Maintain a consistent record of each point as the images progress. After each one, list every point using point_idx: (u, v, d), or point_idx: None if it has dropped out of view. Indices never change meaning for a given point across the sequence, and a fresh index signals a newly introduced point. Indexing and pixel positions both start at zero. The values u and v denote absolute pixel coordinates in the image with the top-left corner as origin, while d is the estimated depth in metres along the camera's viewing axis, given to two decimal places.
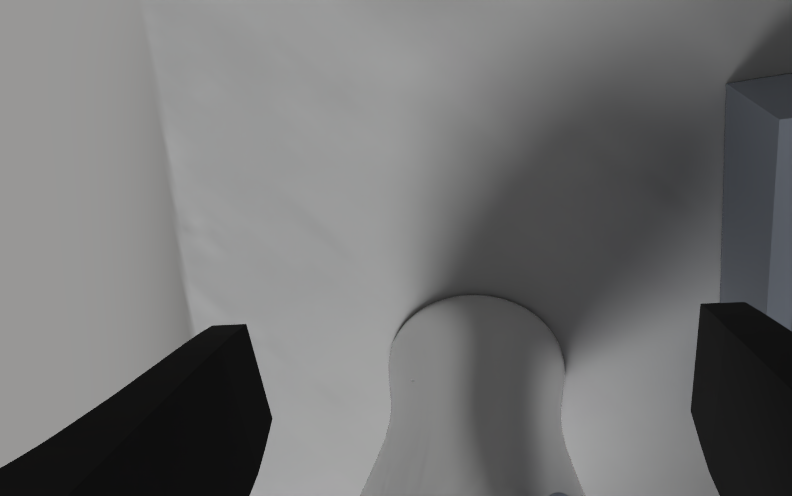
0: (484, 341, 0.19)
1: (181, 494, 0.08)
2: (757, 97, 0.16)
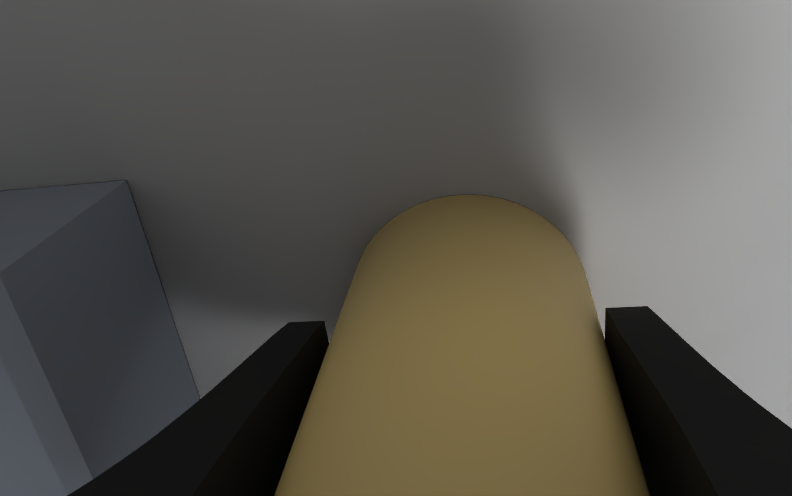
0: None
1: None
2: None
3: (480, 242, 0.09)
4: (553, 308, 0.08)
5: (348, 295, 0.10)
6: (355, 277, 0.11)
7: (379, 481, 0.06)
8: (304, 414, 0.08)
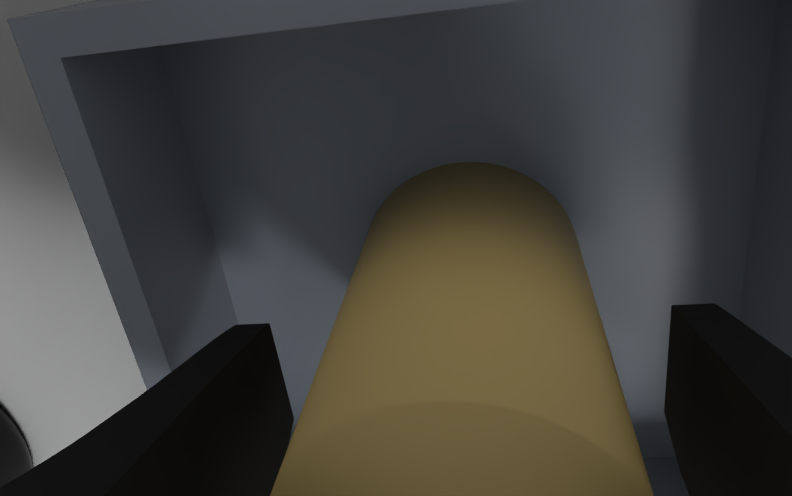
0: None
1: (210, 494, 0.08)
2: None
3: (481, 198, 0.11)
4: (544, 250, 0.10)
5: (363, 248, 0.12)
6: (369, 234, 0.12)
7: (400, 366, 0.07)
8: (329, 338, 0.09)
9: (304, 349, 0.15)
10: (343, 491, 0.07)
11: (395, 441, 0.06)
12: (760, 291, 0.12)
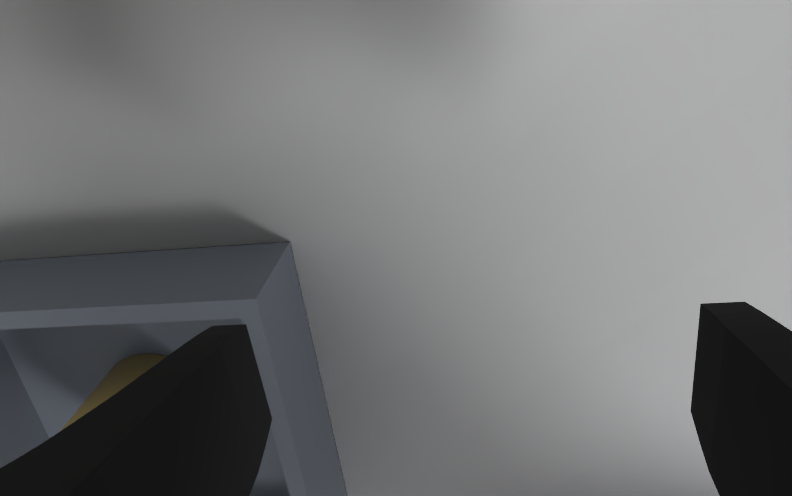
0: None
1: (181, 494, 0.08)
2: None
3: None
4: None
5: None
6: None
7: None
8: None
9: None
10: None
11: None
12: None
